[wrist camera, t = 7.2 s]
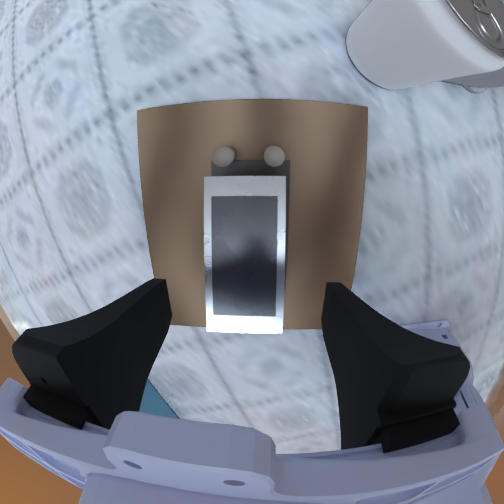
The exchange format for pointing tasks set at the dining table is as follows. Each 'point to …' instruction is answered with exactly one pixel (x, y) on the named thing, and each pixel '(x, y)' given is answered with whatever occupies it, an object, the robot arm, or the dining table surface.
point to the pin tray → (255, 164)
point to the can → (426, 40)
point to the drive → (244, 253)
